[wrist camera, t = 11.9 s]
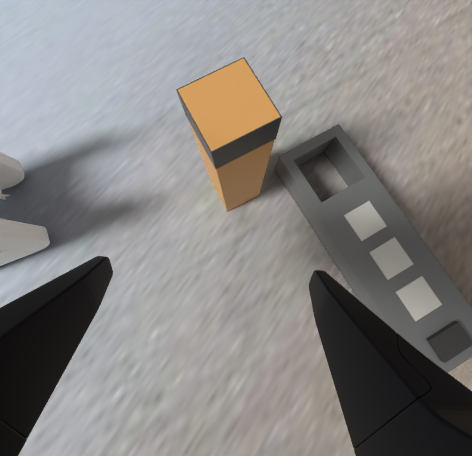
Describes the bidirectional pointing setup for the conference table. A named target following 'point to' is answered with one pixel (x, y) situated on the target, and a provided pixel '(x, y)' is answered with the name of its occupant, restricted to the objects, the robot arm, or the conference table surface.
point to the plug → (232, 129)
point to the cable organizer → (12, 232)
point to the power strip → (381, 252)
